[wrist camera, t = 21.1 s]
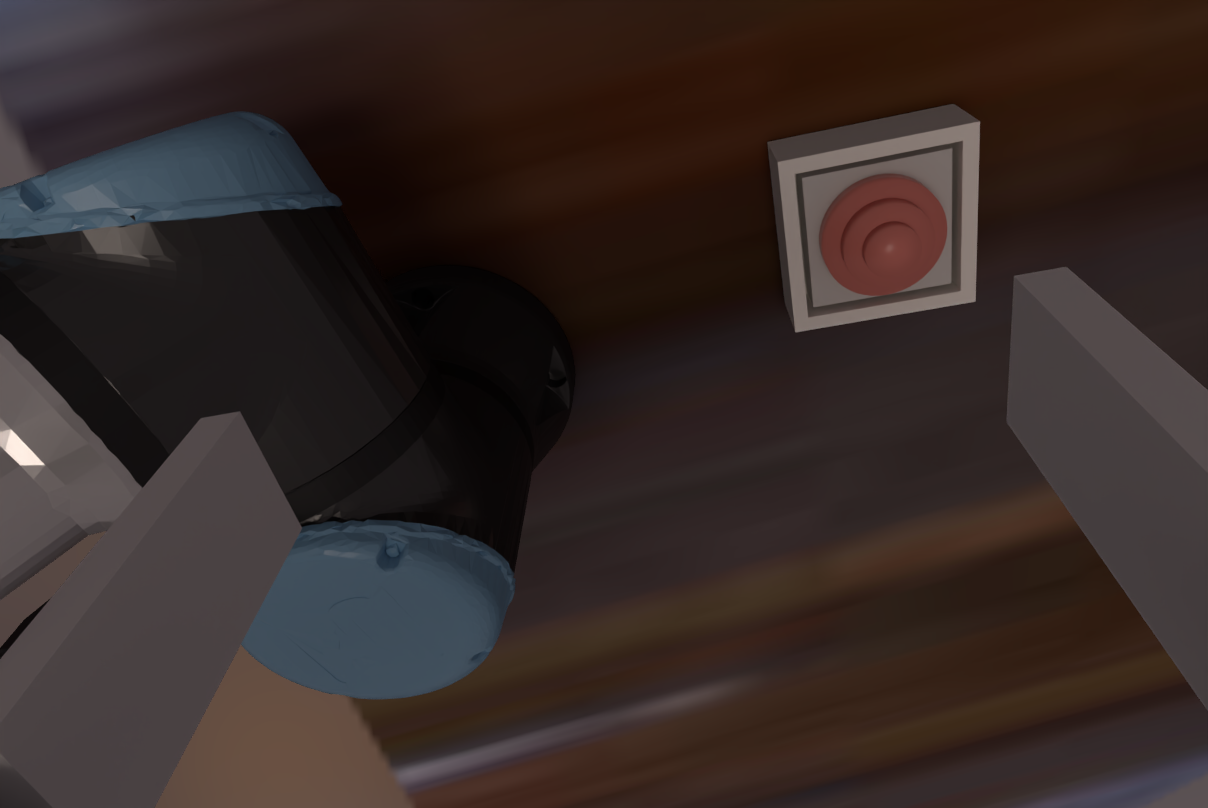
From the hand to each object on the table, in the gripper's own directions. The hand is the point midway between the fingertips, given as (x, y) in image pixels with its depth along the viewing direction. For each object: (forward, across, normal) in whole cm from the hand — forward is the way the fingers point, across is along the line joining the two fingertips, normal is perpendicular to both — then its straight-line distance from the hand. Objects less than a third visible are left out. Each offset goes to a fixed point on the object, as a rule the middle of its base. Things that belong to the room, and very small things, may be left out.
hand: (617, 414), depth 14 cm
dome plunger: (+33, +12, -11) cm, 37 cm away
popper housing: (+35, +12, -11) cm, 38 cm away
